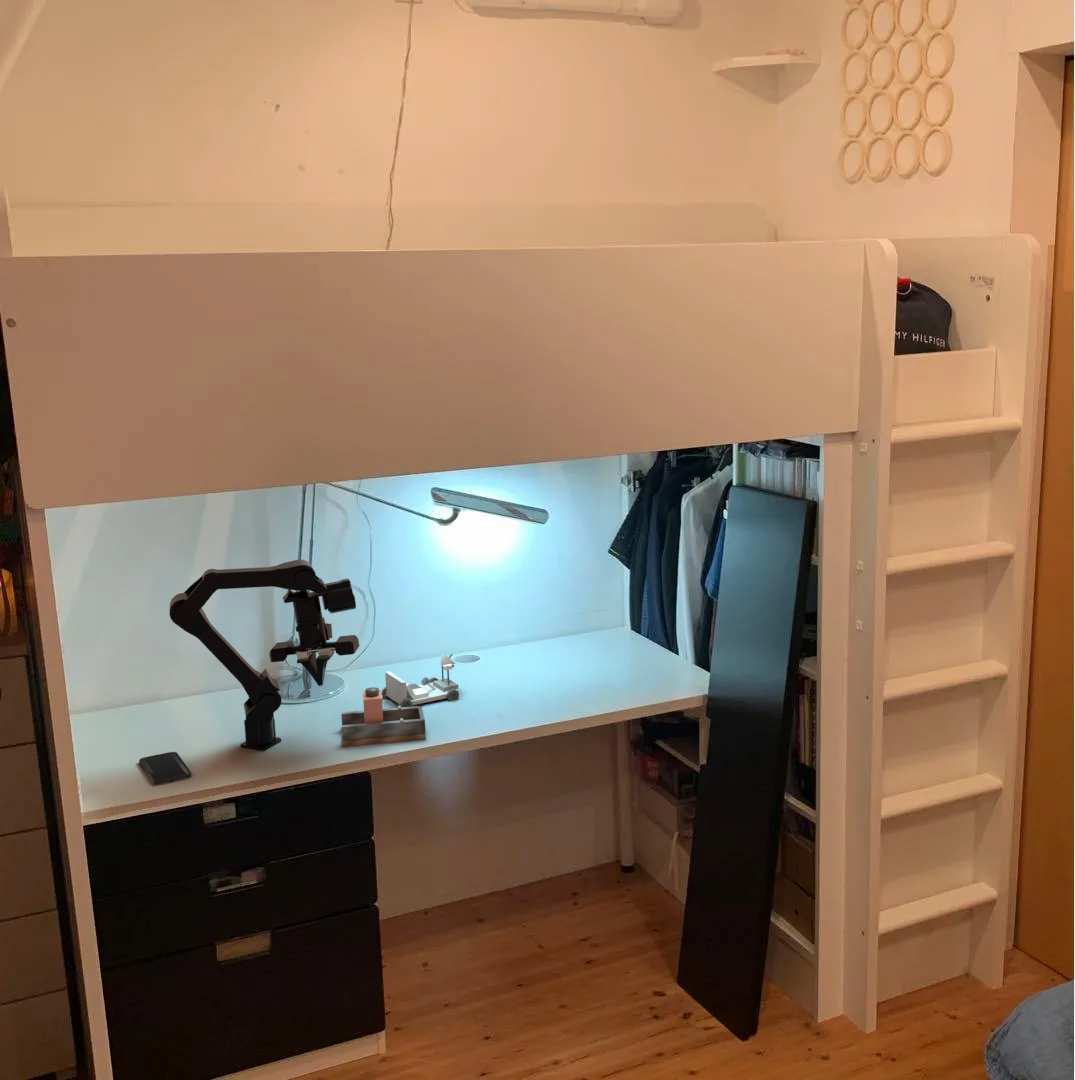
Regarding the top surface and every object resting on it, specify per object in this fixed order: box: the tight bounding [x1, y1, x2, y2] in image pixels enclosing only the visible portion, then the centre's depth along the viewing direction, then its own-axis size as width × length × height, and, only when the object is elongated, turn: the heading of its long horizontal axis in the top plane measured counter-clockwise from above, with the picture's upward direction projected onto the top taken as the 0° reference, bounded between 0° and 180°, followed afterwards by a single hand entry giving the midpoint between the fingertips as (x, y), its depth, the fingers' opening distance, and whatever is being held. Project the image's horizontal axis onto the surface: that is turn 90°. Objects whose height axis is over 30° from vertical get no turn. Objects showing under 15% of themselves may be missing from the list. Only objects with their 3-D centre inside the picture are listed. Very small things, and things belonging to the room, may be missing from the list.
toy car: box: [381, 653, 460, 708], centre depth 279 cm, size 18×10×12 cm
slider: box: [362, 686, 384, 723], centre depth 255 cm, size 4×6×9 cm, turn 10°
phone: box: [138, 751, 193, 786], centre depth 239 cm, size 8×1×15 cm
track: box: [340, 705, 427, 747], centre depth 257 cm, size 18×11×4 cm, turn 100°
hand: (320, 685), depth 254 cm, fingers closed
